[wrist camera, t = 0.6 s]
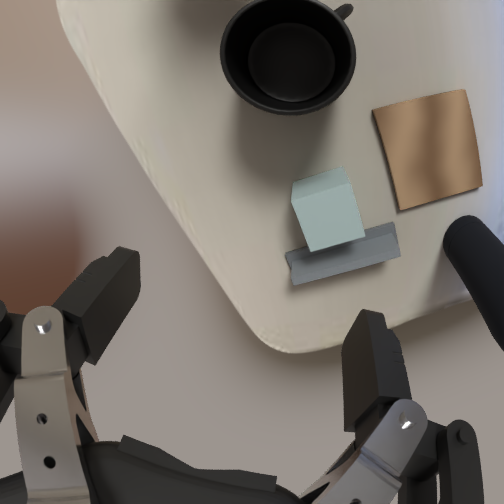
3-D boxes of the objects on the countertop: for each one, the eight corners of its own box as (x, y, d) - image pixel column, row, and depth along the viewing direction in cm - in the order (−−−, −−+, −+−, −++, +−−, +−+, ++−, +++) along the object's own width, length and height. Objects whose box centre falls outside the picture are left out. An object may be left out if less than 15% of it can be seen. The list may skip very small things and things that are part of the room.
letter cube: (342, 166, 30) (350, 182, 25) (357, 214, 32) (366, 238, 27) (293, 181, 31) (290, 200, 27) (310, 228, 34) (311, 254, 29)
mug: (378, 52, 23) (408, 41, 15) (291, 126, 28) (287, 142, 21) (308, -13, 20) (310, -48, 13) (223, 63, 26) (192, 56, 18)
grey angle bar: (393, 221, 32) (402, 238, 28) (397, 243, 33) (406, 262, 29) (285, 252, 36) (283, 272, 32) (294, 273, 37) (292, 293, 34)
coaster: (461, 89, 22) (465, 89, 22) (479, 183, 27) (482, 186, 26) (371, 109, 26) (373, 110, 25) (398, 207, 31) (400, 210, 30)
